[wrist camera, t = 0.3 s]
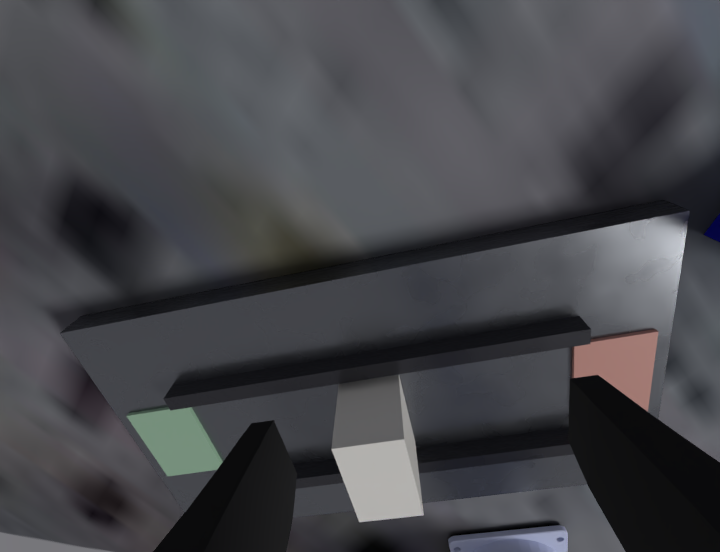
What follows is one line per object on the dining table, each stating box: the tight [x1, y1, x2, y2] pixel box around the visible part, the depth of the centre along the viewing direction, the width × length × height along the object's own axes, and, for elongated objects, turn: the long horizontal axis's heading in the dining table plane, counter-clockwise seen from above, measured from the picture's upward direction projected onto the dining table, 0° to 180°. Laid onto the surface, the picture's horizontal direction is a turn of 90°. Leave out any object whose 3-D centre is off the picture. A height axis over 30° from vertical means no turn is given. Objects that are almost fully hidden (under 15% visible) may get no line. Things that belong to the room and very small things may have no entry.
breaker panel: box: [60, 200, 690, 518], centre depth 20 cm, size 16×28×2 cm, turn 103°
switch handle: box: [331, 374, 424, 522], centre depth 18 cm, size 5×3×4 cm, turn 13°
